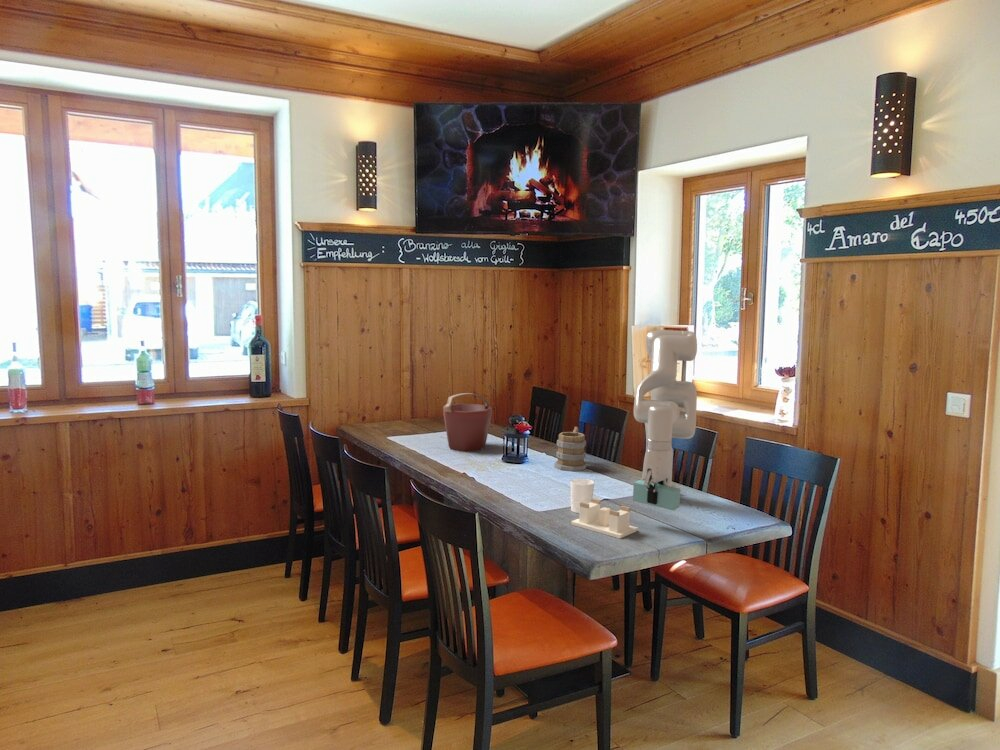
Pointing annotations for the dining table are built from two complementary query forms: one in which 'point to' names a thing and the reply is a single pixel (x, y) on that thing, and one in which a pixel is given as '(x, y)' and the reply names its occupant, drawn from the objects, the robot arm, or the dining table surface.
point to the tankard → (571, 451)
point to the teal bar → (658, 495)
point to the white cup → (581, 493)
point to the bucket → (467, 424)
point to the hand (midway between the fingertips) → (656, 500)
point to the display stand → (604, 519)
